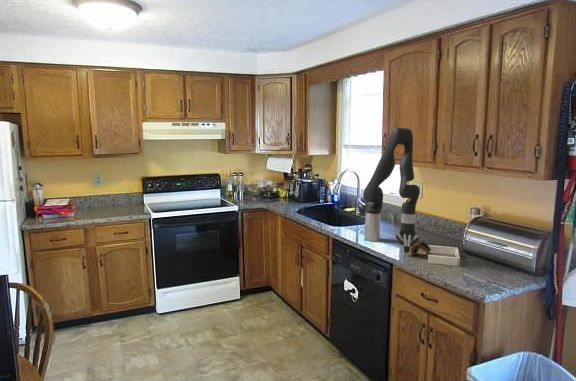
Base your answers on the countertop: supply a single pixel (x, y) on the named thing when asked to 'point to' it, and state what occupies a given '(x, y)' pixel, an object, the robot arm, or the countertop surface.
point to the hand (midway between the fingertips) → (406, 252)
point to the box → (442, 259)
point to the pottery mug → (421, 246)
